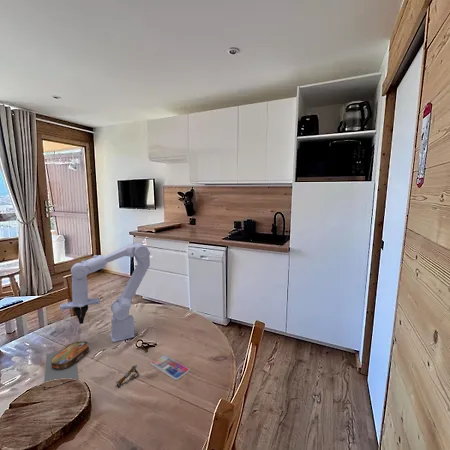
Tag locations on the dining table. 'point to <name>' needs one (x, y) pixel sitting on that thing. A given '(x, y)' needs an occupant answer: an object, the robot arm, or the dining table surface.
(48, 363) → the mat
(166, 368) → the smartphone
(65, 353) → the tin
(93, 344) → the dining table surface
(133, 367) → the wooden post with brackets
